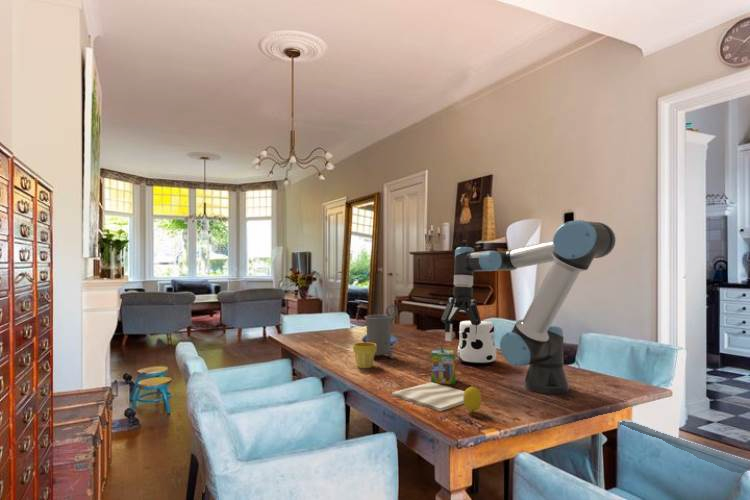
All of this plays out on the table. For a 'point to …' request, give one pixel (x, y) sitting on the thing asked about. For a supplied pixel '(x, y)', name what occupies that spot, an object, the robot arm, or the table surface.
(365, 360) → the plant pot
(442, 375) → the chalk box
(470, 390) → the lemon
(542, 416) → the table surface
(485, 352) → the milk container
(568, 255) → the robot arm
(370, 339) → the mug
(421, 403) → the ash board
